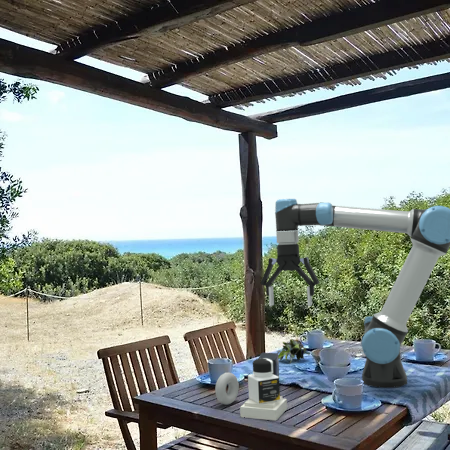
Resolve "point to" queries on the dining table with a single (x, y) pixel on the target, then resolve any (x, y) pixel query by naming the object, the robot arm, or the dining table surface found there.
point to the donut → (232, 390)
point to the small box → (275, 361)
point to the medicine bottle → (263, 382)
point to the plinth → (263, 409)
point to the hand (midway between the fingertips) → (290, 305)
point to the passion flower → (293, 350)
